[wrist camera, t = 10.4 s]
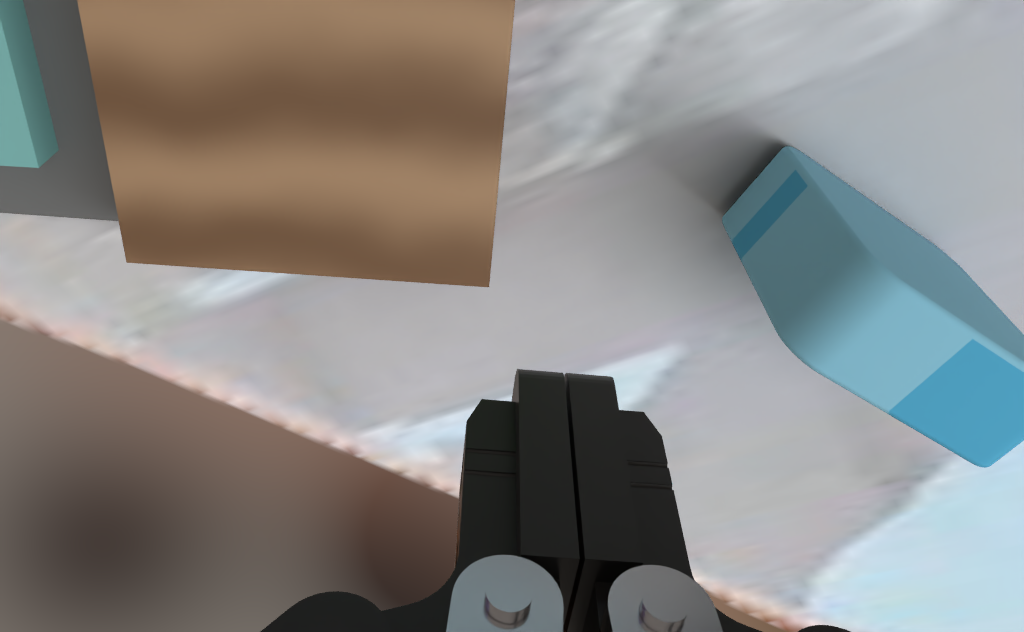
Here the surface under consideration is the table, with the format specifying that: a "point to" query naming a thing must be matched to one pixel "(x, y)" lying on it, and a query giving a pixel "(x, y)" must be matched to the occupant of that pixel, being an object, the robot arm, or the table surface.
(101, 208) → the mat
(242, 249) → the wooden block
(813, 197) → the data package
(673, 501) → the robot arm
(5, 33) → the teal flat block
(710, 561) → the table surface
